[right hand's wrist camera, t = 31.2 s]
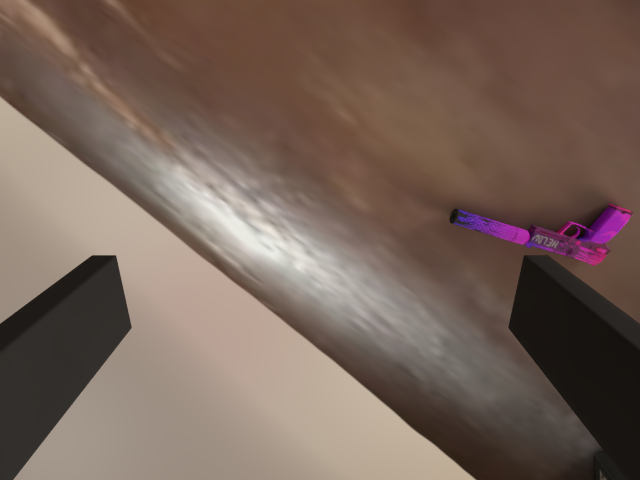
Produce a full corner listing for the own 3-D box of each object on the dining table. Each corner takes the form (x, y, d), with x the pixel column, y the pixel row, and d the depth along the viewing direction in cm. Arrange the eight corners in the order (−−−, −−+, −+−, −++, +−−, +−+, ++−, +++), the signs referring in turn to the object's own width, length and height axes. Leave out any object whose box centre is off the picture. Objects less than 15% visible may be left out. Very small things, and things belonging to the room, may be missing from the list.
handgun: (626, 208, 47) (639, 213, 45) (594, 263, 50) (604, 270, 48) (472, 162, 45) (478, 165, 43) (446, 222, 48) (452, 227, 46)
